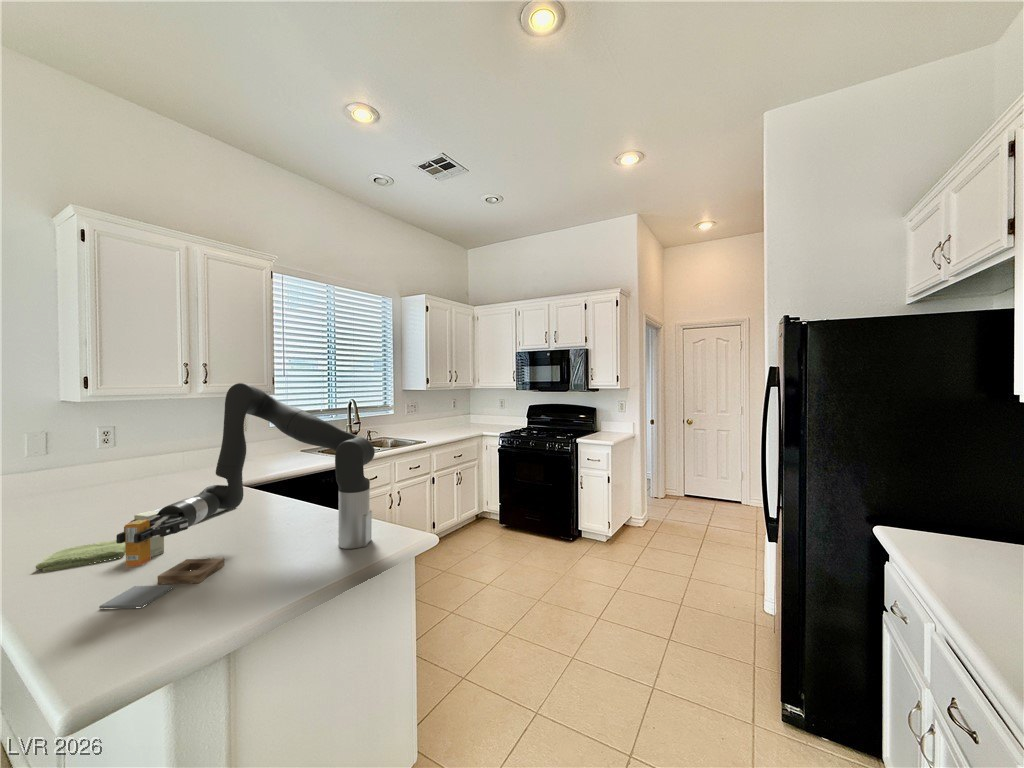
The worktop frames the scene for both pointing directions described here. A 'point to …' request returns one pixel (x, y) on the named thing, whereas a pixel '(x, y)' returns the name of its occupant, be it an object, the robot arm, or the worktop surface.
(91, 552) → the washcloth
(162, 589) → the grey rubber pad
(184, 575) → the walnut collar
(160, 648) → the worktop surface
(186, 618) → the worktop surface
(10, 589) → the worktop surface
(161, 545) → the skincare box
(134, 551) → the supplement box
